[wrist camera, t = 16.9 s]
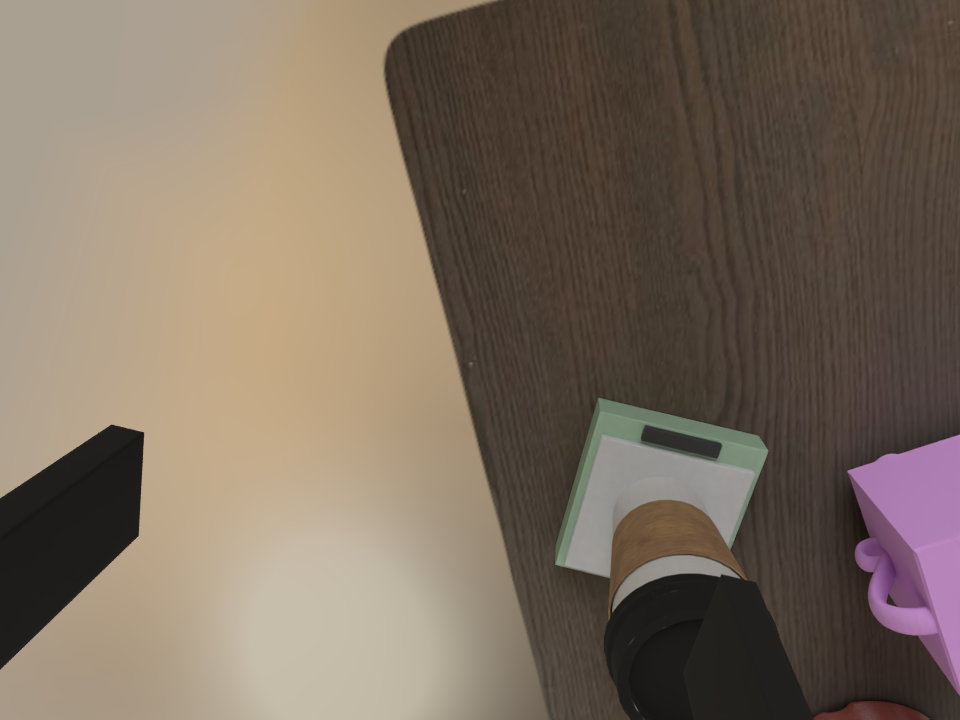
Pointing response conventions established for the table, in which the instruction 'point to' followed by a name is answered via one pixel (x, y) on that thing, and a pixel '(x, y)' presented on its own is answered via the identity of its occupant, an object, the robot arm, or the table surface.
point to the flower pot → (873, 712)
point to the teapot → (915, 545)
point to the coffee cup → (660, 593)
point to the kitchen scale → (647, 453)
